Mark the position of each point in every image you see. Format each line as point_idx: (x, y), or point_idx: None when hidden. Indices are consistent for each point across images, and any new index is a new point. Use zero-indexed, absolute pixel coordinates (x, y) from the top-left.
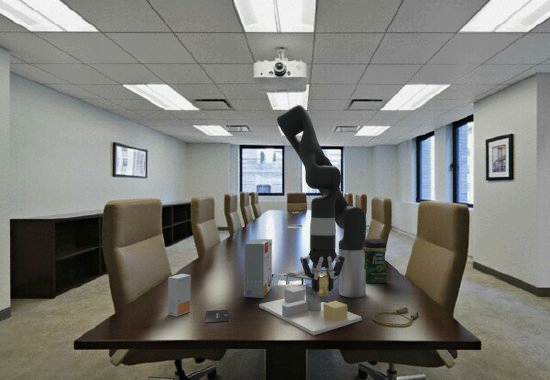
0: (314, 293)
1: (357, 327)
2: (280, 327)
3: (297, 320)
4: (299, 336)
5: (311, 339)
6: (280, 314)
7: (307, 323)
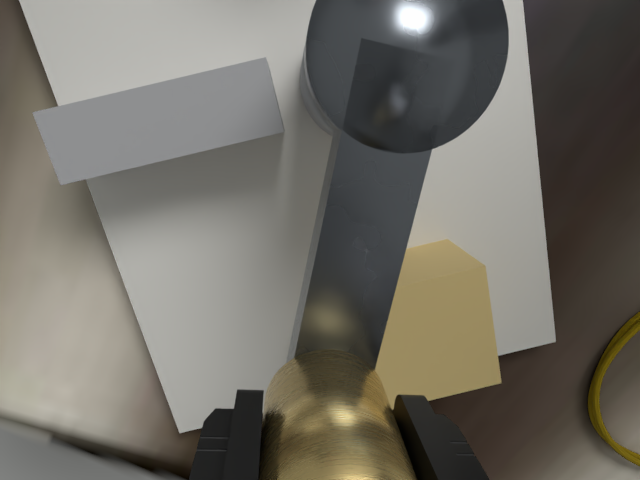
0: (314, 243)
1: (454, 405)
2: (31, 263)
3: (148, 258)
4: (106, 407)
5: (154, 454)
6: (62, 101)
7: (193, 322)
